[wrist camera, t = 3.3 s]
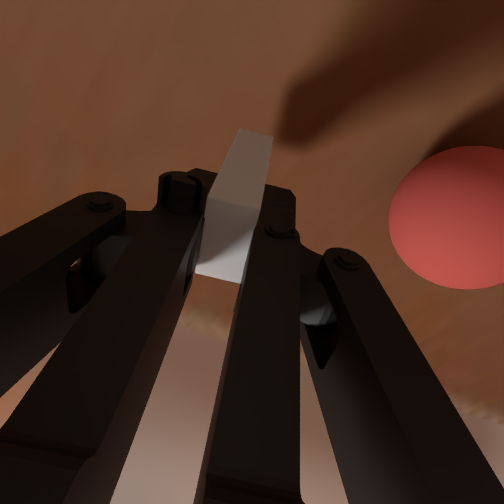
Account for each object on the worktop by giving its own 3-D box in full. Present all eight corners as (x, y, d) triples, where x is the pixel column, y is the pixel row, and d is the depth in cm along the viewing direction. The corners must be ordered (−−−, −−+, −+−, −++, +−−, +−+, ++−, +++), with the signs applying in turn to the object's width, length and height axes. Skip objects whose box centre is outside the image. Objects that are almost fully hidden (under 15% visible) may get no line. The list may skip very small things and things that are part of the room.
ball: (410, 112, 16) (458, 162, 12) (538, 144, 17) (639, 207, 12) (359, 225, 20) (379, 300, 15) (466, 250, 20) (520, 333, 15)
